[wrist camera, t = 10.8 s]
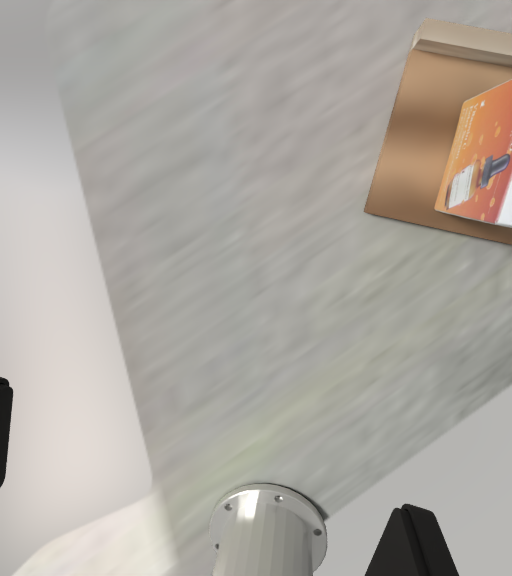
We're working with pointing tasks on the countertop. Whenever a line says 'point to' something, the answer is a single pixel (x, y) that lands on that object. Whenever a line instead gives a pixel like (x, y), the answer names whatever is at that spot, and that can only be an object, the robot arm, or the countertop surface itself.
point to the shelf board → (436, 122)
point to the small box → (481, 160)
